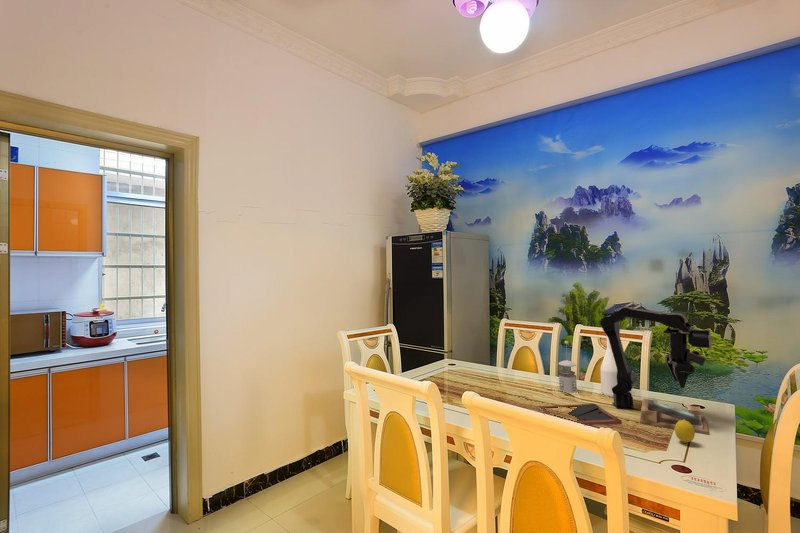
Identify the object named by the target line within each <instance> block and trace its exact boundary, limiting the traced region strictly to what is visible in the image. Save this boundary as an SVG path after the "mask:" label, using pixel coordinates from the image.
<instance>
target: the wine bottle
mask: <svg viewBox="0 0 800 533" xmlns="http://www.w3.org/2000/svg"><path fill="white" fill-rule="evenodd" d="M605 336H606V350H605V354H604V357H603V360H602V362H601V364H600V391H601V394H602V395H604V396H606V397H611V398H614V397H613V391H612V388H613V387H614V386H616V385H617V367H616V363H615V360H614V356H613V353H612V349H611V345H610V342H609V338H608V336H607V335H606V334H605Z"/></svg>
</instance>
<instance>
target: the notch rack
mask: <svg viewBox="0 0 800 533" xmlns="http://www.w3.org/2000/svg"><path fill="white" fill-rule="evenodd" d="M649 400H652V401H655V402H658V400H656V399H648V398H643V399H642V403H641V409H640V418H639V424H640V425H641V424H642V425H647V426H653V427H659V428H664V427H665V428H666V429H672V430H675V425H676V423H677V422H678V421H680V419H677V418H674V417H671V416H669V415H666V414H663V413H660V412H657V411H654V410H651V409H648V403H649ZM686 406H687V412H688V413H691V414H694V415H697V416H699V424H698V425H695V424H692V423H691V425H692V426H693V428H694V432H695V434H702V435H709V428H708V425H707V424H708V423H707V421H706V420H707V419H706V416H703V415H702V409H701V407H700V406H697V405H695V406H694V405H690V404H688V405H686Z"/></svg>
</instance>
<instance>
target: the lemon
mask: <svg viewBox="0 0 800 533" xmlns="http://www.w3.org/2000/svg"><path fill="white" fill-rule="evenodd" d="M674 433H675V436H676V437H677V438H678V440H680V442H681V441H682V443H683V444H687V443H689V442H692V441H693V440H694V439H695V434H696V433H695V432H694V428H693V426H692V425H691V423H689V422H688V421H686V420H684V419H683V420H680V421H678V422H677V423H676V425H675V429H674Z"/></svg>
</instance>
